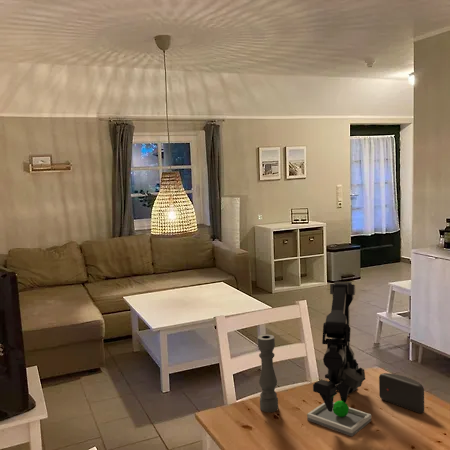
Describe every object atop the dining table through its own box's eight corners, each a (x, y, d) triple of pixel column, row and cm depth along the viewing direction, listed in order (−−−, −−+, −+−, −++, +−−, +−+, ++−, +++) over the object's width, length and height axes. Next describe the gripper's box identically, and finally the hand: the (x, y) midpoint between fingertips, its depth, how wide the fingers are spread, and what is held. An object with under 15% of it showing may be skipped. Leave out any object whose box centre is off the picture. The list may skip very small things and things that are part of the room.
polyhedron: (350, 415, 160) (351, 400, 160) (345, 420, 156) (345, 406, 156) (336, 411, 163) (336, 397, 163) (330, 416, 159) (330, 402, 159)
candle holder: (257, 411, 169) (254, 339, 166) (263, 402, 174) (260, 333, 172) (275, 413, 166) (272, 340, 164) (280, 405, 172) (277, 334, 169)
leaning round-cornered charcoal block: (429, 410, 163) (429, 383, 162) (422, 415, 160) (422, 387, 159) (385, 395, 175) (385, 369, 174) (378, 399, 172) (377, 373, 171)
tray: (307, 420, 161) (307, 413, 160) (327, 406, 169) (327, 400, 169) (352, 436, 149) (351, 429, 149) (371, 420, 158) (371, 414, 158)
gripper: (343, 373, 145) (344, 425, 146) (374, 356, 158) (374, 404, 159) (311, 364, 152) (312, 414, 154) (343, 349, 166) (344, 395, 167)
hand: (337, 407), depth 158 cm, fingers open, 8 cm apart
